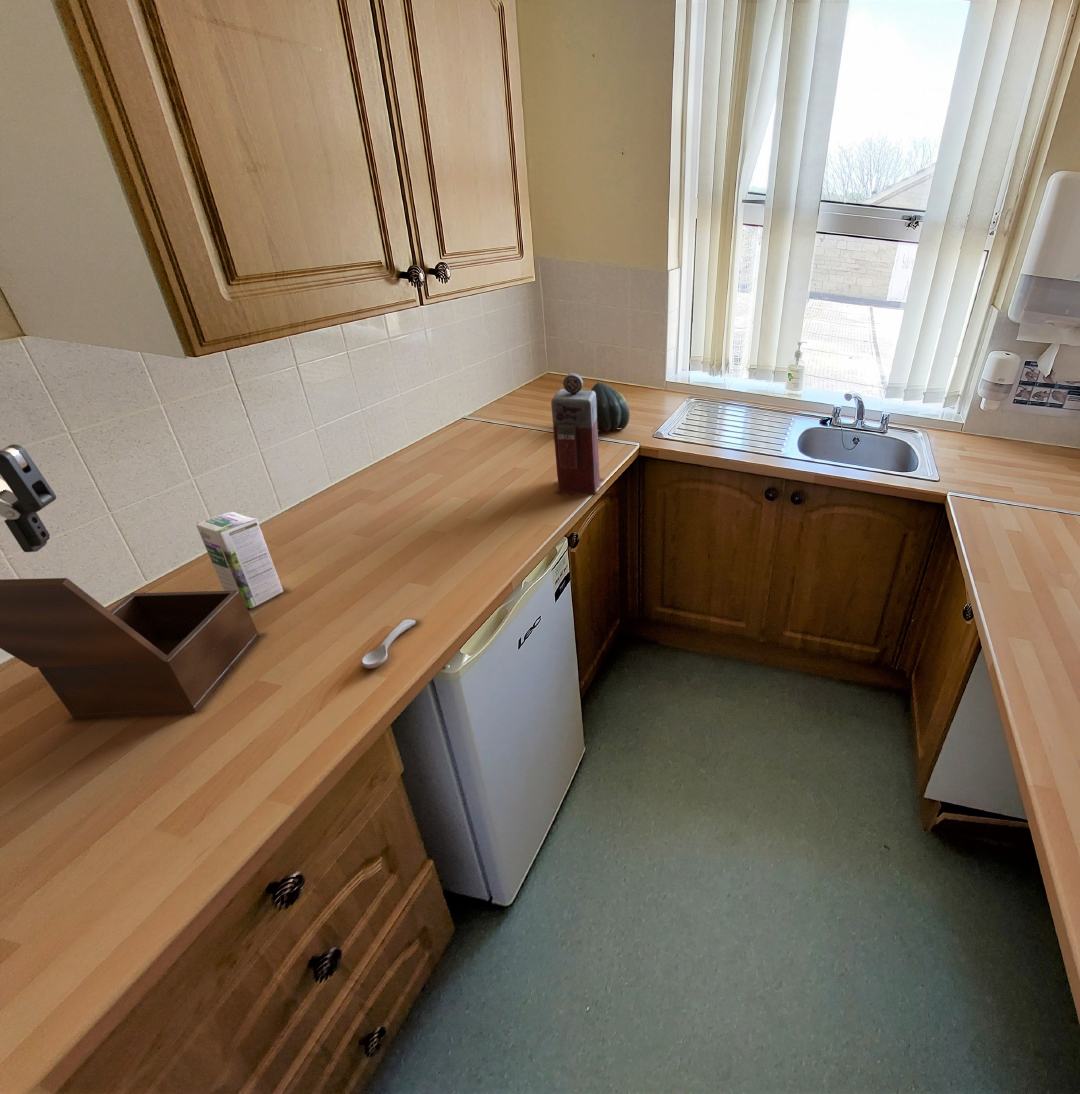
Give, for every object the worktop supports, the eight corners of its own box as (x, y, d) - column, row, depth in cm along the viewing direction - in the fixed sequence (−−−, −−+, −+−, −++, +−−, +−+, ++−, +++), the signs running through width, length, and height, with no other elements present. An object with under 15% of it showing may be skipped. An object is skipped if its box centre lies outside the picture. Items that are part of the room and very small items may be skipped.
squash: (631, 421, 173) (627, 376, 176) (580, 423, 170) (577, 377, 173) (630, 439, 187) (626, 396, 190) (584, 441, 184) (580, 398, 187)
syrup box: (226, 600, 95) (191, 524, 88) (262, 583, 100) (232, 509, 93) (250, 609, 94) (217, 532, 86) (286, 591, 98) (257, 517, 91)
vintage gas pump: (556, 496, 138) (546, 380, 124) (564, 478, 148) (556, 368, 133) (594, 498, 139) (588, 382, 125) (599, 479, 148) (595, 370, 134)
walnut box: (158, 640, 86) (131, 592, 82) (259, 636, 88) (239, 590, 84) (73, 719, 73) (36, 667, 68) (195, 712, 75) (167, 661, 71)
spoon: (358, 671, 83) (355, 660, 82) (403, 625, 94) (401, 615, 93) (378, 673, 83) (375, 662, 82) (421, 627, 94) (419, 617, 93)
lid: (-98, 581, 56) (-104, 587, 55) (67, 577, 58) (62, 583, 58) (37, 661, 68) (32, 667, 68) (167, 655, 71) (164, 661, 70)
